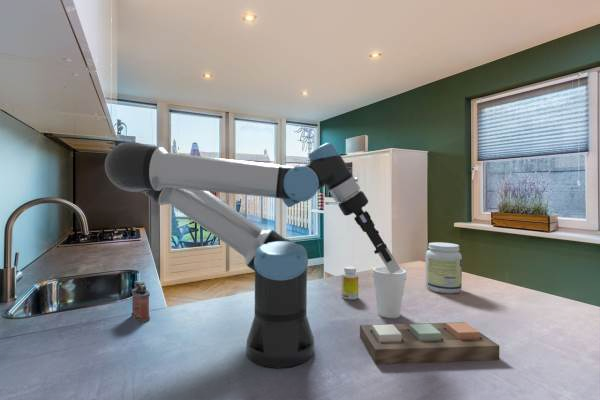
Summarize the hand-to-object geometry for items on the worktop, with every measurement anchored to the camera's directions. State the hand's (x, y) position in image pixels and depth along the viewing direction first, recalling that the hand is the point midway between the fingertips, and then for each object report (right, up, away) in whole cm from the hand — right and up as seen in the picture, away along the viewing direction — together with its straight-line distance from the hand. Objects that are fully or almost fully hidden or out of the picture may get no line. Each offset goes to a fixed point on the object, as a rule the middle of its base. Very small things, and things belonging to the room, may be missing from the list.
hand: (390, 263), depth 83 cm
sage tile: (+4, -14, -13) cm, 20 cm away
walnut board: (+4, -17, -13) cm, 21 cm away
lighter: (-69, -16, +3) cm, 71 cm away
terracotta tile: (+13, -14, -12) cm, 23 cm away
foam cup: (+2, -17, +7) cm, 18 cm away
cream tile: (-5, -14, -14) cm, 20 cm away
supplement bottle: (-8, -16, +21) cm, 28 cm away
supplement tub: (+29, -17, +31) cm, 45 cm away
